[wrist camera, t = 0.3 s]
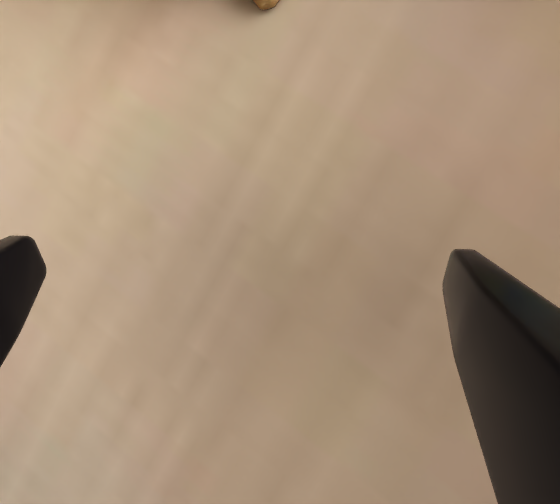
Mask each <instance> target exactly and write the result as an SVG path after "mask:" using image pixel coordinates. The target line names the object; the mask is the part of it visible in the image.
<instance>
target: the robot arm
mask: <svg viewBox="0 0 560 504" xmlns="http://www.w3.org/2000/svg"><path fill="white" fill-rule="evenodd" d="M45 276H46V265H45V263H44V261H43V258H42V256H41V254H40V251H39V249H38V247H37V245H36V242H35V241H34V240H33V239H32V238H31V237H29V236H9V237H6V238H4V239H1V240H0V367H1V365H2V364H3V362H4V360H5V358H6V357H7V355H8V353H9V352H10V350H11V348H12V346H13V345H14V343H15V341H16V339H17V337H18V336H19V334H20V332H21V330H22V328H23V325H24V323H25V321H26V319H27V317H28V314H29V312H30V310H31V308H32V305H33V303H34V301H35V299H36V296H37V294H38V292H39V290H40V287H41V285H42V283H43V281H44V278H45ZM443 296H444V302H445V308H446V314H447V320H448V326H449V332H450V338H451V344H452V349H453V354H454V358H455V362H456V366H457V369H458V372H459V376H460V379H461V382H462V386H463V389H464V392H465V396H466V399H467V402H468V406H469V409H470V412H471V416H472V419H473V422H474V426H475V429H476V432H477V436H478V439H479V442H480V446H481V449H482V452H483V456H484V459H485V462H486V466H487V469H488V472H489V476H490V479H491V482H492V486H493V489H494V492H495V496H496V499H497V502H498V504H560V308H558V307H557V306H556V305H554V304H553V303H551V302H550V301H548V300H547V299H545V298H544V297H542V296H541V295H540V294H538V293H537V292H535V291H534V290H532V289H531V288H529V287H528V286H526V285H525V284H523V283H522V282H521V281H519V280H518V279H516V278H515V277H513V276H512V275H510V274H509V273H507V272H506V271H505V270H503V269H502V268H500V267H499V266H497V265H496V264H494V263H493V262H491V261H490V260H489V259H487V258H486V257H484V256H483V255H481V254H480V253H478V252H477V251H475V250H471V249H455V250H453V251H452V252H451V254H450V257H449V261H448V264H447V268H446V272H445V276H444V279H443Z"/></svg>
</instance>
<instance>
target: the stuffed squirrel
mask: <svg viewBox="0 0 560 504" xmlns="http://www.w3.org/2000/svg"><path fill="white" fill-rule="evenodd" d="M253 1H254V2H255V3H256V5H257V6H258V7H259V8H260V9H262V10H263V9H269V8H273V7H274V6H275V5H276V4H277V3H278V1H279V0H253Z"/></svg>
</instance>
